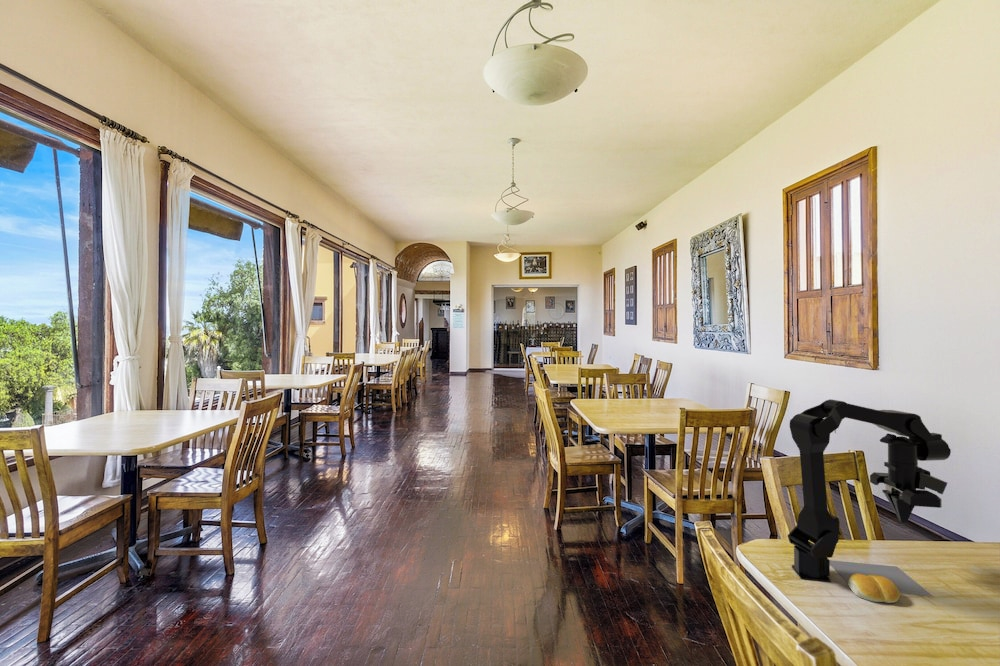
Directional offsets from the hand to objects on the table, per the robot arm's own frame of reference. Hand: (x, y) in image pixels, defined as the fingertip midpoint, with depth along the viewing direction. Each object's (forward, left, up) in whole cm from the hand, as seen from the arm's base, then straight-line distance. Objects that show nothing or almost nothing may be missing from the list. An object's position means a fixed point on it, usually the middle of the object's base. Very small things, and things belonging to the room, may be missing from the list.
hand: (903, 522), depth 118 cm
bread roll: (-11, -13, -12) cm, 21 cm away
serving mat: (-9, -6, -12) cm, 16 cm away
